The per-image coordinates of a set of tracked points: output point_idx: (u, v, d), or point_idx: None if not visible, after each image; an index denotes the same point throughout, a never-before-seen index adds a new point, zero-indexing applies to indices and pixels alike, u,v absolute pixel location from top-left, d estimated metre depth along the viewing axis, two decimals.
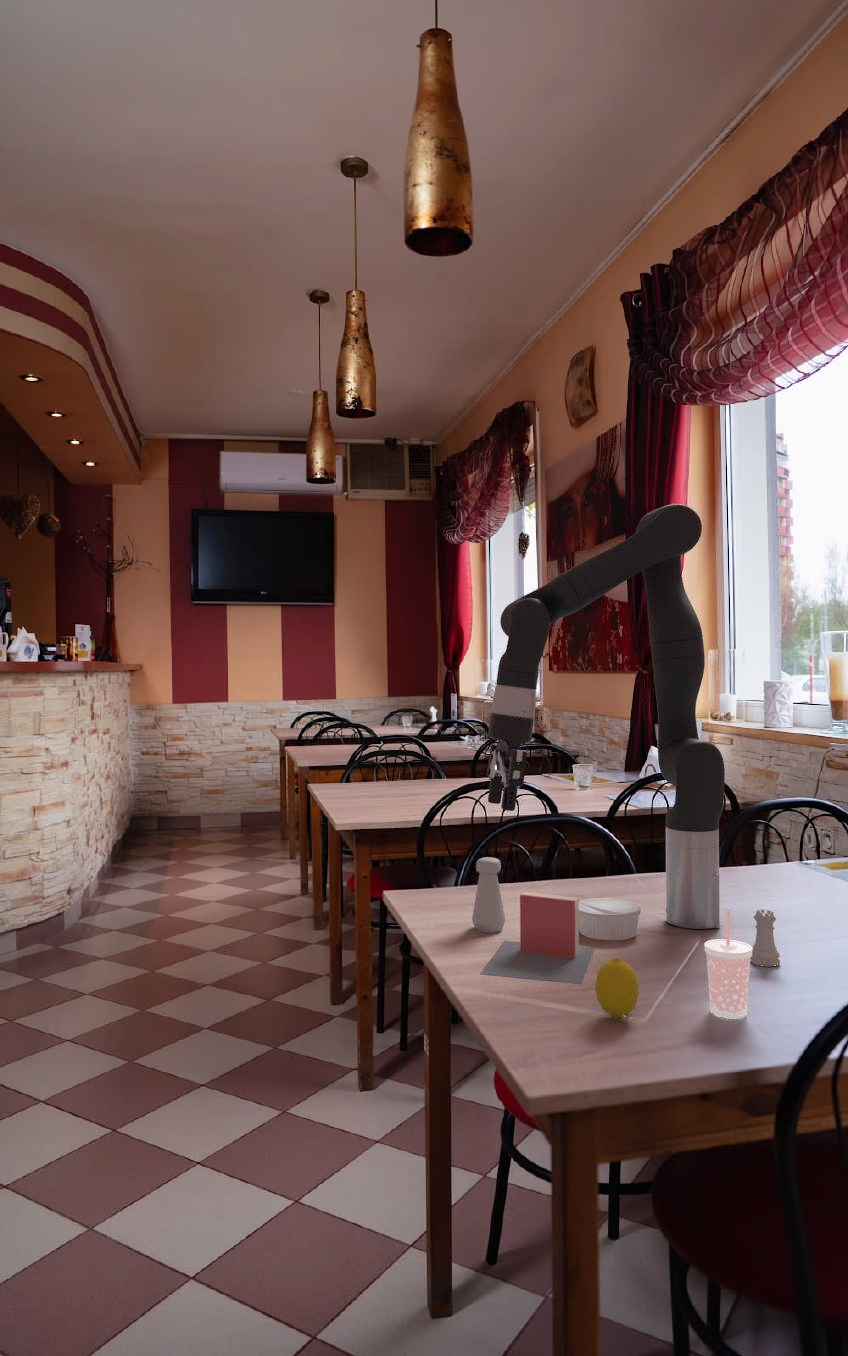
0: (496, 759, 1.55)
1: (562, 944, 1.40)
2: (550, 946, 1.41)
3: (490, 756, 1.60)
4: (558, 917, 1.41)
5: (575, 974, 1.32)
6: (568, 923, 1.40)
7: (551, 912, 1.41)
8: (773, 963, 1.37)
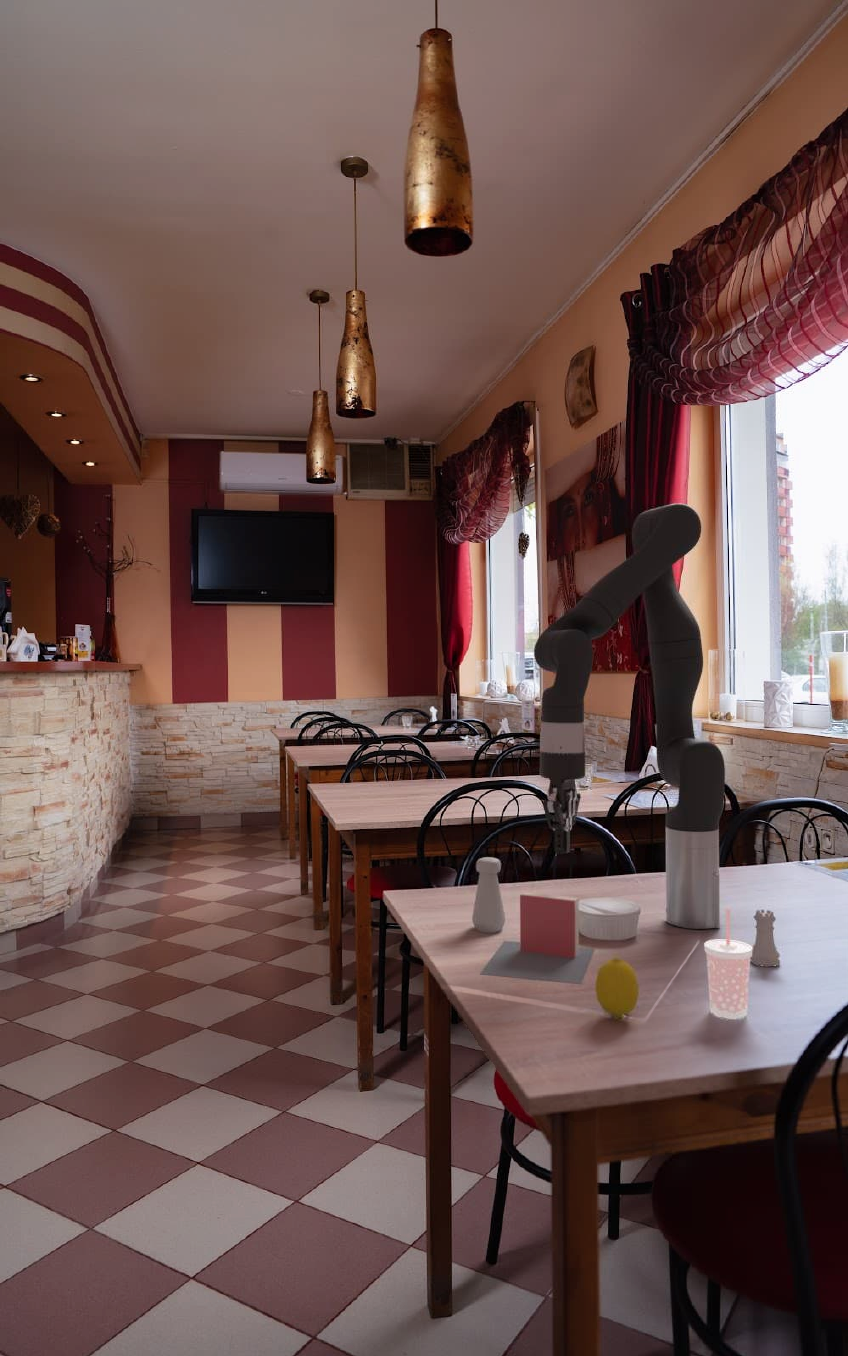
0: None
1: (562, 944, 1.40)
2: (550, 946, 1.41)
3: None
4: (558, 917, 1.41)
5: (575, 974, 1.32)
6: (568, 923, 1.40)
7: (551, 912, 1.41)
8: (773, 963, 1.37)
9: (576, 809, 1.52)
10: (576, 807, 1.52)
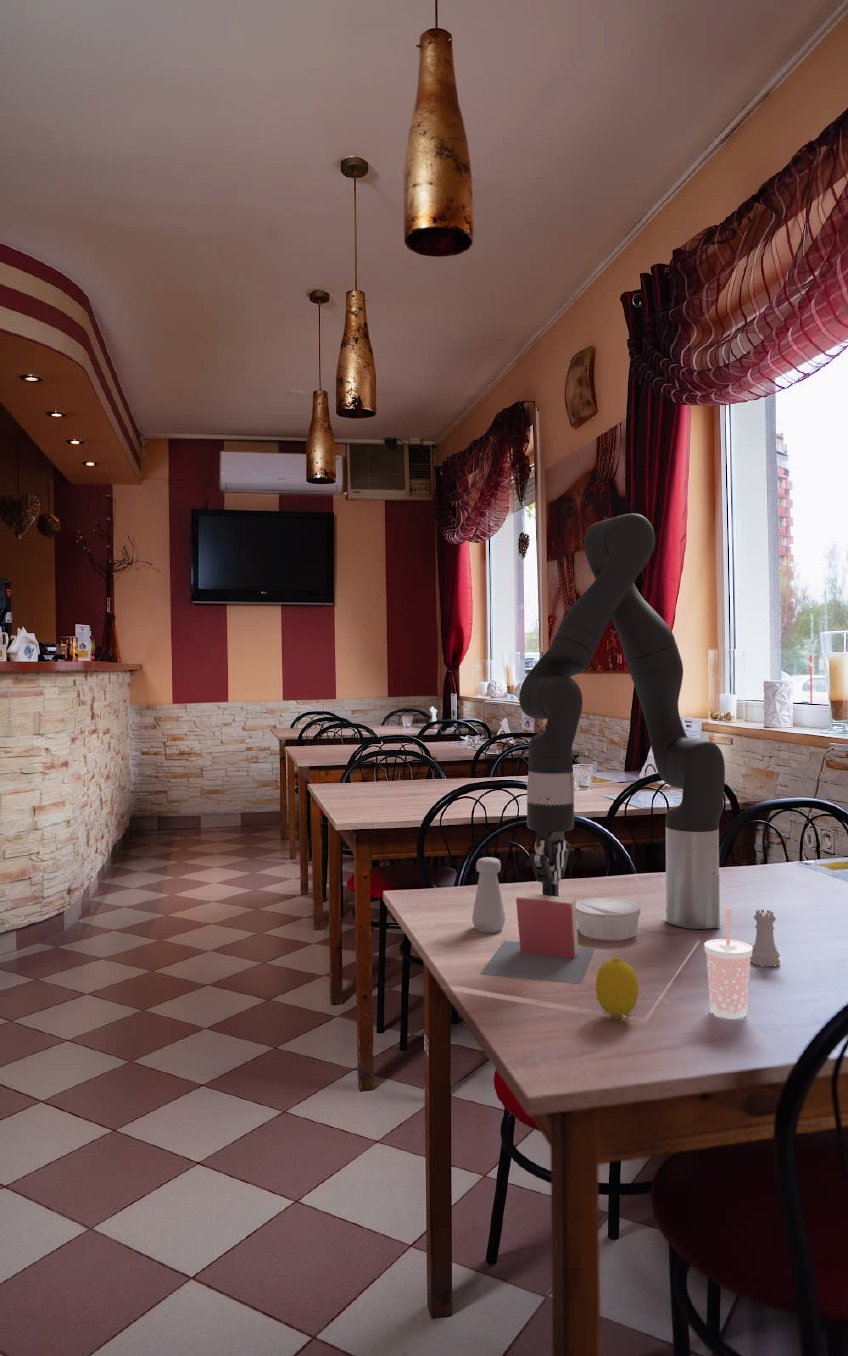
0: None
1: (561, 945, 1.40)
2: (549, 947, 1.41)
3: None
4: (556, 920, 1.39)
5: (575, 974, 1.32)
6: (566, 925, 1.39)
7: (548, 915, 1.40)
8: (773, 963, 1.37)
9: (565, 860, 1.47)
10: (565, 858, 1.47)
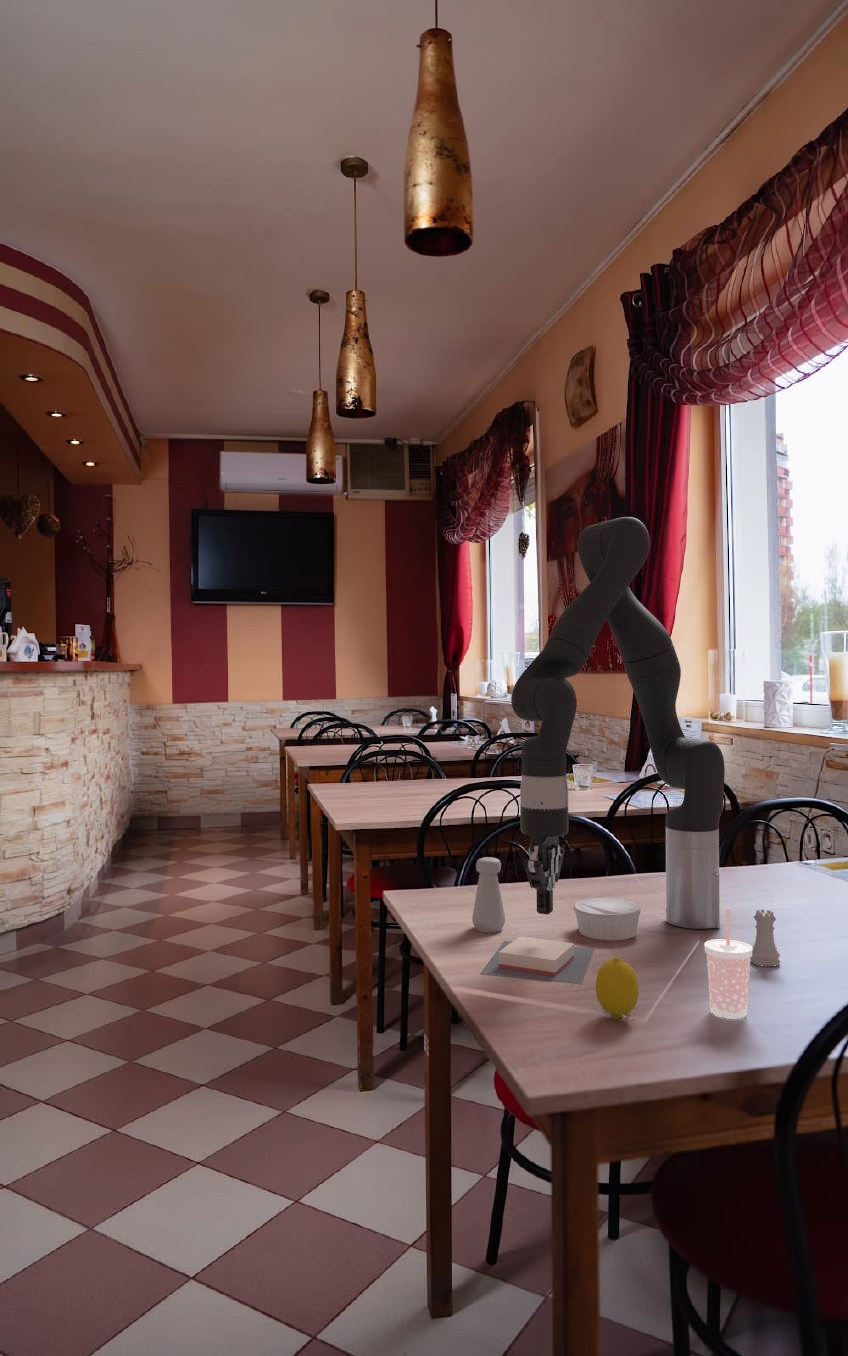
0: None
1: None
2: None
3: None
4: None
5: (575, 974, 1.32)
6: None
7: None
8: (773, 963, 1.37)
9: (559, 865, 1.44)
10: (559, 863, 1.44)
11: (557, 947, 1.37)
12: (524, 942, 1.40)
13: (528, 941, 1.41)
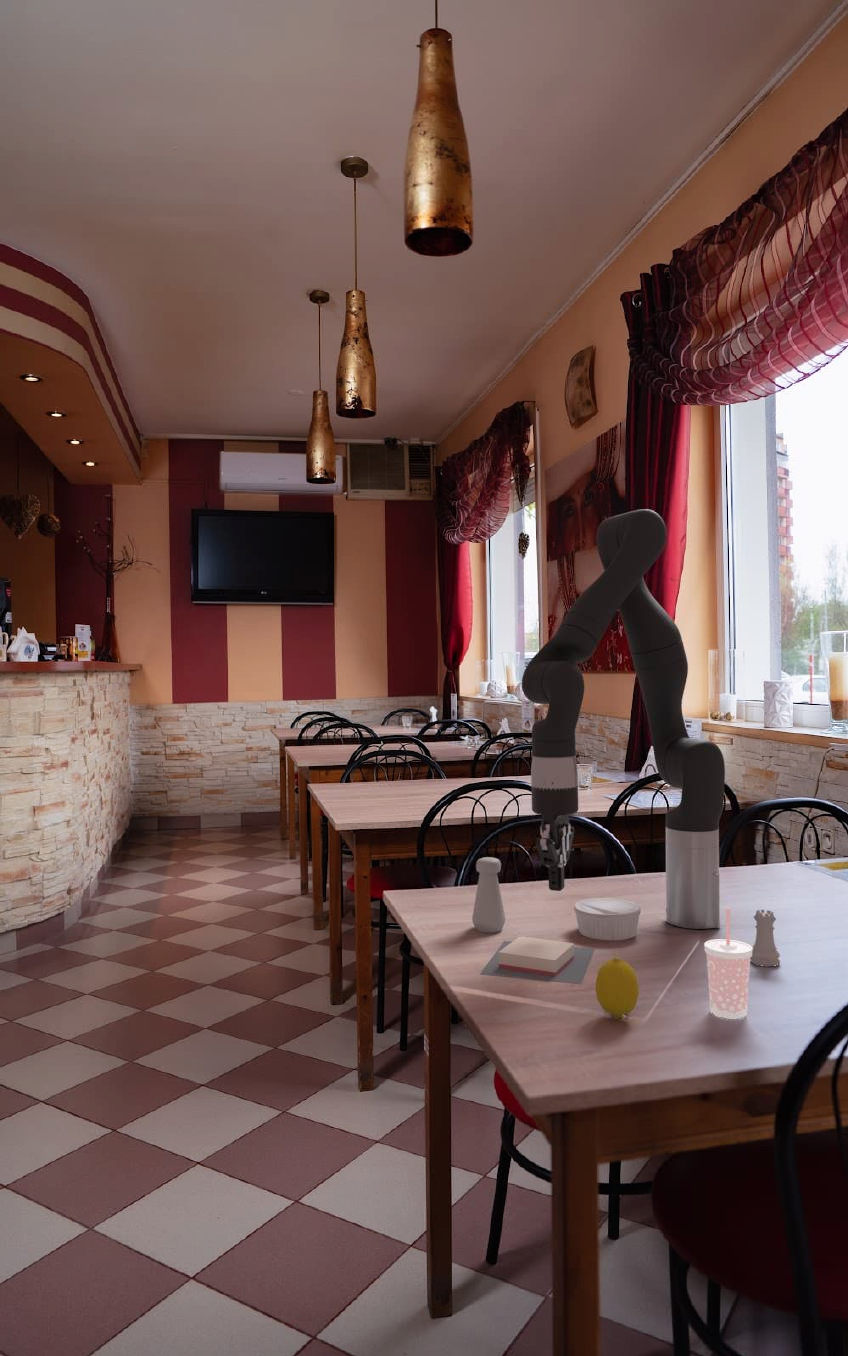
0: None
1: None
2: None
3: None
4: None
5: (575, 974, 1.32)
6: None
7: None
8: (773, 963, 1.37)
9: (570, 843, 1.48)
10: (570, 841, 1.48)
11: (557, 947, 1.37)
12: (524, 942, 1.40)
13: (528, 941, 1.41)
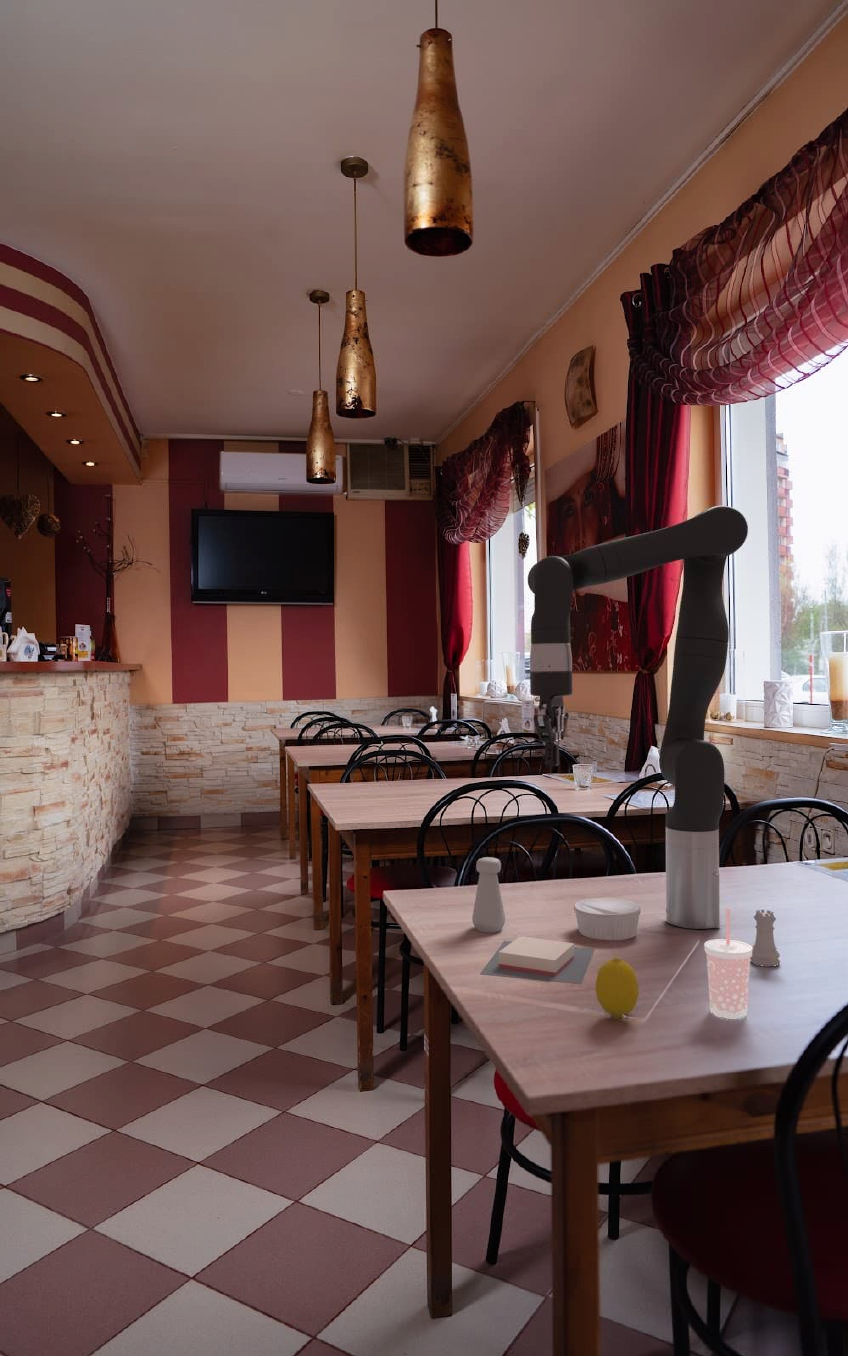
0: None
1: None
2: None
3: None
4: None
5: (575, 974, 1.32)
6: None
7: None
8: (773, 963, 1.37)
9: (564, 726, 1.63)
10: (564, 724, 1.63)
11: (557, 947, 1.37)
12: (524, 942, 1.40)
13: (528, 941, 1.41)
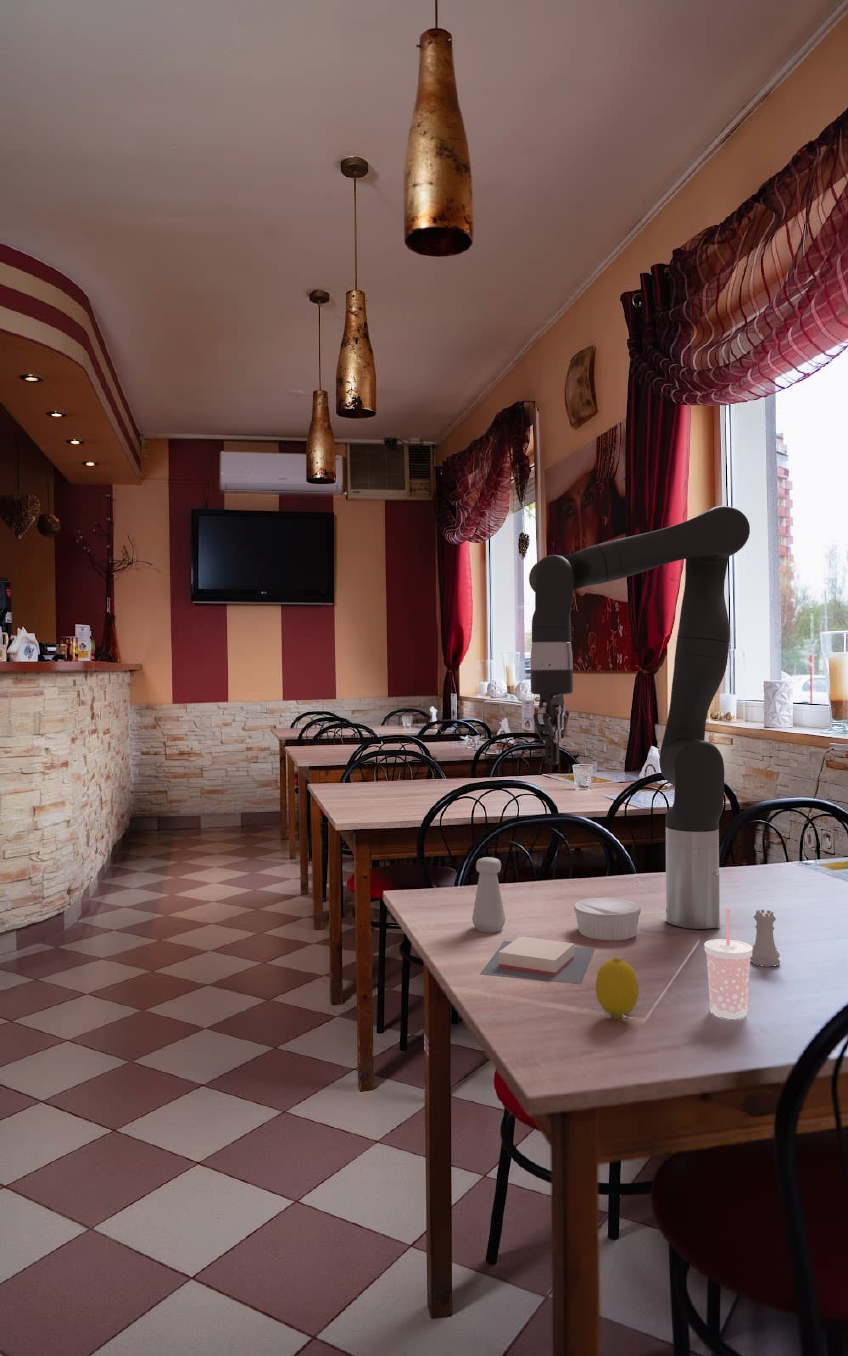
0: None
1: None
2: None
3: None
4: None
5: (575, 974, 1.32)
6: None
7: None
8: (773, 963, 1.37)
9: (565, 725, 1.63)
10: (565, 723, 1.63)
11: (557, 947, 1.37)
12: (524, 942, 1.40)
13: (528, 941, 1.41)
